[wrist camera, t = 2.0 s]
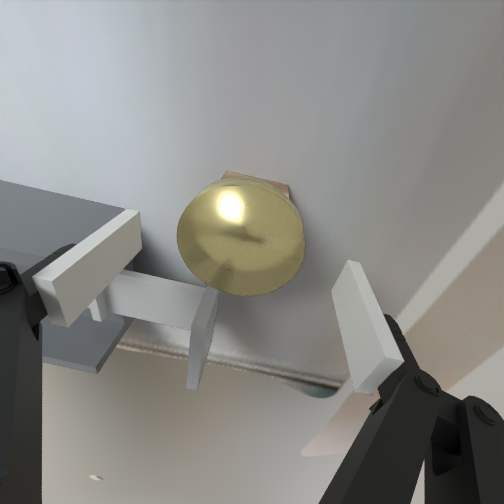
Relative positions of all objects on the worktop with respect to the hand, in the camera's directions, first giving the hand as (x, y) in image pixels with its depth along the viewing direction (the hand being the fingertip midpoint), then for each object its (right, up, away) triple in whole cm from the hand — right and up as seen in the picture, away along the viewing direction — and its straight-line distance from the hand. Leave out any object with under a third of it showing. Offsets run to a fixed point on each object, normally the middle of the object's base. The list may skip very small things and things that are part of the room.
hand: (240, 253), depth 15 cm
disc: (0, +1, +1) cm, 2 cm away
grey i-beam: (-10, -4, +8) cm, 13 cm away
